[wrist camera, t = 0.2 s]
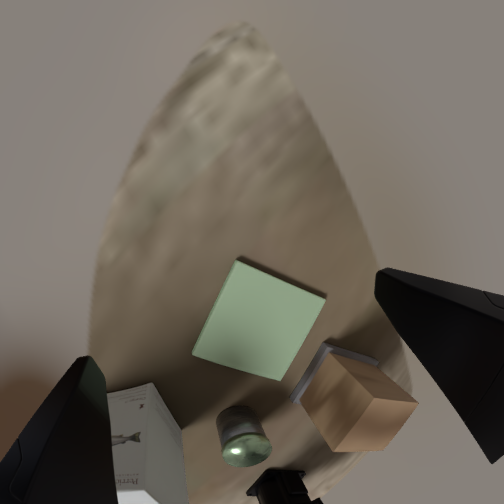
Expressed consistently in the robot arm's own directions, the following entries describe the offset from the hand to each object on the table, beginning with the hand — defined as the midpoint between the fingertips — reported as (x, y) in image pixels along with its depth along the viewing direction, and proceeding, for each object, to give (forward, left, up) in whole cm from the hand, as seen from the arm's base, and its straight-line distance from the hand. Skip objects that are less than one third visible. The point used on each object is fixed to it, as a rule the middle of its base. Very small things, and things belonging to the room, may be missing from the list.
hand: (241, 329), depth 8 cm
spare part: (-15, -11, -15) cm, 24 cm away
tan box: (-7, -19, -15) cm, 25 cm away
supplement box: (-18, -1, -16) cm, 24 cm away
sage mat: (-4, -8, -15) cm, 18 cm away
